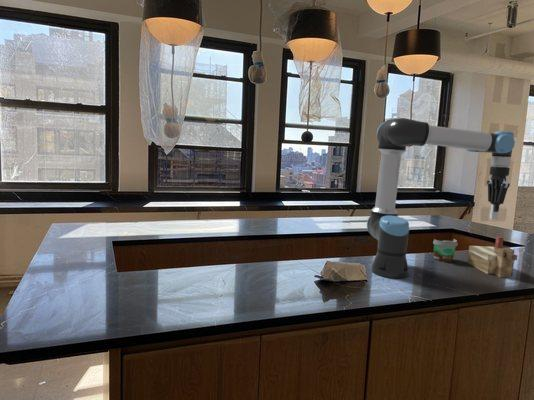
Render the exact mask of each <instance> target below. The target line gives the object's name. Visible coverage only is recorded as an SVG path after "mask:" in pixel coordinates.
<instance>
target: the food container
mask: <svg viewBox="0 0 534 400" xmlns="http://www.w3.org/2000/svg"><path fill="white" fill-rule="evenodd" d="M432 244H433V260H434V259H435V260H434V261H437V260H438V262H442V261H444V262H443V263H451V261H452V262H453V259H454V256H455V252H456V247H458V240H457V239H455V238H453V240H447V239H446V240H445V239H444V240H443V239H442V240H438V239H435V238H434V239H433V242H432Z"/></svg>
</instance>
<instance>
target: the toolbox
mask: <svg viewBox="0 0 534 400" xmlns="http://www.w3.org/2000/svg"><path fill="white" fill-rule="evenodd" d="M505 250H506V251H508V252H511V253H513V254H515V250H514V249H511V248H510V247H507V249H504V248H503V247H502V248H498V253H497V260H496V261H488V260H486V259H484V258H482V257H480V256H478V255H476V254H474V253H472V252H470V251H469V250H468V258H467V264H469V265H471V266H472V267H474V268H476V269H478V270H480V271H481V272H483V273H485V274H487V275H495V276H497V277H499V278H508V279H509V278H511V277H512V275H513V271H514V264H515V262H513V260H510V259H508V258H506V257H504V255H505Z"/></svg>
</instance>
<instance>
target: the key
mask: <svg viewBox="0 0 534 400" xmlns="http://www.w3.org/2000/svg"><path fill="white" fill-rule="evenodd" d="M504 240H505V239H504V237H502V236H496V237H495V244H494V247H495V248H494V252H495V253H498V248H502V249H503V246H504V245H503V244H504ZM504 250H505V255H504V257H506V258H508V259H510V260H515V261H517V260H518V255H517V254H515V253H514V254H513V253H511V252H508V251H507V249H504Z"/></svg>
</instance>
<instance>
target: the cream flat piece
mask: <svg viewBox="0 0 534 400" xmlns="http://www.w3.org/2000/svg"><path fill="white" fill-rule="evenodd" d="M494 248H495V246H483V245H482V246H480V245H469V246H468V252H469V251H470V252H472V253H474V254H476V255H478V256H480V257H482V258H484V259H486V260H488V261H496V260H497V253H495V252H494ZM513 262H514V263H515V262H516V260H513Z"/></svg>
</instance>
